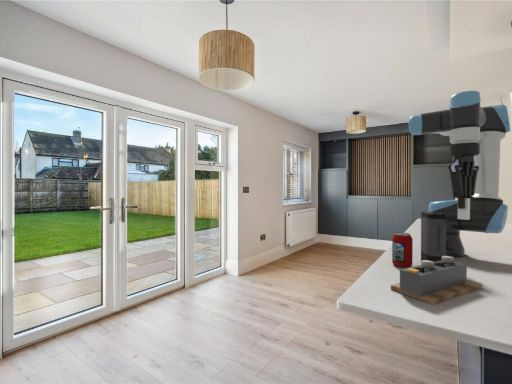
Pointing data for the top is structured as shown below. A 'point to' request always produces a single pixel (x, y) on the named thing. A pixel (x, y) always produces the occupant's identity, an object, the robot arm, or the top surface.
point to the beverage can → (402, 249)
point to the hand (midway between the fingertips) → (463, 219)
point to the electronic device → (433, 235)
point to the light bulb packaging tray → (432, 278)
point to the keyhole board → (442, 294)
